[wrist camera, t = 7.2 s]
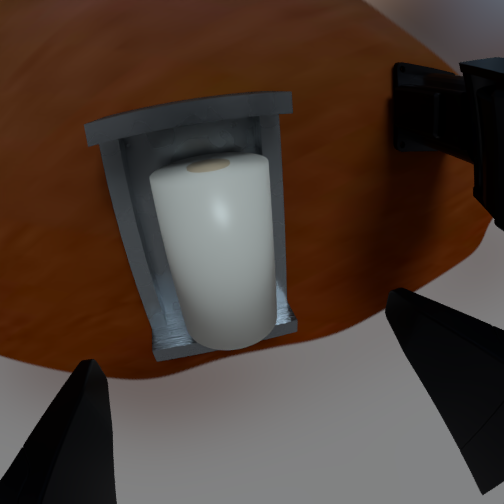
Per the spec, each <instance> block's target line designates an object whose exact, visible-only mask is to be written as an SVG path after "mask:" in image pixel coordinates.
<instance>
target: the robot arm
mask: <svg viewBox="0 0 504 504" xmlns="http://www.w3.org/2000/svg"><path fill="white" fill-rule="evenodd" d="M459 65H460V70H461V72H462V73H463V76H457V75H455V74H454V73H451V72H447V71H443V70H438V69H434V68H429V67H424V66H419V65H414V64H409V63H403V62H398V63H395V65H394V147H395V149H396V150H398V151H401V152H408V151H441V152H444V153H446V154H449V155H452V156H454V157H457V158H459V159H462V160H464V161H466V162H469V163H471V164H474V187H473V196H474V197H475V198H476V199H477V200H478V201H479V202H480V203H481V204H482V206H483V207H484V208H485V209H486V210H487V211H488V212H489V213H490V214H491V216H492V217H493V218H494V219H495V220H494V223H495V225H496V226H497V227H498V228H500V229H501V230H503V231H504V58H500V57H494V58H487V59H480V60H473V61H466V62H460V63H459ZM400 67H401V68H402V71H400ZM400 143H402V144H401V146H400ZM385 314H386V317H387V320H388V321H389V324H390V326H391V327H392V329H393V331H394V334H395V335H396V337H397V339H398V342H399V344H400V346H401V348H402V350H403V352H404V353H405V355H406V357H407V359H408V360H409V362H410V364H411V365H412V367H413V369H414V370H415V372H416V373H417V375H418V377H419V378H420V380H421V382H422V383H423V385H424V387H425V388H426V390H427V392H428V394H429V395H430V397H431V399H432V401H433V402H434V404H435V405H436V407H437V409H438V411H439V413H440V414H441V416H442V418H443V420H444V422H445V424H446V425H447V427H448V429H449V431H450V433H451V434H452V436H453V438H454V440H455V442H456V444H457V446H458V448H459V449H460V452H461V454H462V456H463V457H464V459H465V461H466V463H467V465H468V467H469V469H470V471H471V473H472V475H473V477H474V479H475V482H476V484H477V486H478V488H479V490H480V492H481V493H482V495H484V494H485V493H487V492H488V491H490V490H492V489H493V488H495V487H496V486H498V485H499V484H501V483H502V482H503V481H504V330H502V329H500V328H497V327H495V326H493V327H492V325H490V324H488V323H485V322H483V321H481V320H479V319H476V318H474V317H472V316H469V315H467V314H464V313H462V312H459V311H457V310H455V309H452V308H450V307H448V306H445V305H443V304H441V303H438V302H436V301H433V300H431V299H428V298H426V297H424V296H421V295H419V294H416V293H414V292H411V291H409V290H407V289H404V288H397V289H394V290H391V291H390V292H389V295H388V300H387V304H386V309H385ZM23 447H24V448H21V450H20V451H19V453H18V455H17V456H16V458H15V459H14V461H13V462H12V464H11V466H10V467H9V469H8V470H7V472H6V473H5V474H4V476H3V477H2V479H1V480H0V504H117V501H116V491H115V478H114V460H113V431H112V420H111V411H110V402H109V392H108V382H107V378H106V376H105V374H104V373H103V371H102V370H101V368H100V366H99V365H98V363H97V362H96V361H95V360H94V359H88V360H82V361H81V362H80V363H79V364H78V366H77V367H76V368H75V370H74V371H73V373H72V374H71V375H70V377H69V378H68V380H67V381H66V382H65V384H64V385H63V387H62V388H61V389H60V391H59V392H58V394H57V395H56V397H55V398H54V400H53V401H52V402H51V404H50V405H49V407H48V408H47V410H46V411H45V413H44V414H43V416H42V417H41V419H40V420H39V422H38V423H37V425H36V426H35V428H34V430H33V431H32V433H31V434H30V436H29V437H28V439H27V440H26V442H25V444H24V445H23Z"/></svg>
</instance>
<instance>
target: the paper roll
mask: <svg viewBox="0 0 504 504" xmlns="http://www.w3.org/2000/svg"><path fill="white" fill-rule="evenodd" d="M149 179H150V184H151V189H152V194H153V199H154V204H155V208H156V213H157V217H158V222H159V226H160V230H161V235H162V239H163V243H164V247H165V251H166V255H167V259H168V263H169V267H170V271H171V275H172V279H173V282H174V286H175V290H176V294H177V297H178V301H179V304H180V308H181V311H182V315H183V318H184V322H185V325H186V328H187V331H188V333H189V335H190V336H191V337H192V338H193V339H194V340H195V341H196V342H197V343H199V344H201V345H203V346H205V347H208V348H211V349H216V350H236V349H241V348H245V347H248V346H251V345H253V344H255V343H257V342H259V341H261V340H262V339H264V338H265V337H266V336H267V335H268V334H269V333H270V332H271V331H272V329H273V328H274V326H275V324H276V321H277V296H276V276H275V257H274V239H273V222H272V206H271V191H270V176H269V161H268V159H267V158H266V157H264V156H262V155H258V154H253V153H245V152H224V153H213V154H206V155H200V156H195V157H190V158H186V159H182V160H179V161H176V162H173V163H170V164H167V165H165V166H163V167H161V168H159V169H157V170H156V171H154V172H153V173H152V174H151V175H150V178H149Z"/></svg>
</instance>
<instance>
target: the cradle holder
mask: <svg viewBox="0 0 504 504" xmlns="http://www.w3.org/2000/svg"><path fill="white" fill-rule="evenodd" d="M287 113H293V109H292V93H291V92H285V91H258V92H246V93H235V94H226V95H217V96H209V97H202V98H195V99H188V100H182V101H176V102H170V103H165V104H159V105H154V106H149V107H144V108H140V109H135V110H131V111H126V112H122V113H118V114H114V115H110V116H106V117H103V118H100V119H97V120H95V121H92V122H90V123H87V124H84V126H85V132H86V137H87V143H88V147H89V146H93V145H97V144H99V146H100V151H101V156H102V161H103V165H104V170H105V174H106V179H107V183H108V187H109V192H110V196H111V200H112V204H113V208H114V211H115V215H116V219H117V223H118V226H119V230H120V233H121V237H122V240H123V244H124V247H125V251H126V254H127V257H128V260H129V264H130V267H131V270H132V273H133V276H134V279H135V282H136V285H137V288H138V291H139V294H140V297H141V300H142V302H143V305H144V308H145V311H146V314H147V316H148V319H149V322H150V324H151V327H152V351H153V354H154V356H155V358H156V360H157V361H163V360H169V359H175V358H180V357H186V356H191V355H196V354H201V353H206V352H211V351H216V349H211V348H208V347H205V346H203V345H201V344H199V343H197V342H196V341H195V340H194V339H193V338H192V337H191V336H190V335H189V333H188V331H187V328H186V325H185V322H184V318H183V315H182V311H181V308H180V304H179V301H178V297H177V294H176V290H175V286H174V282H173V279H172V275H171V271H170V267H169V263H168V259H167V255H166V251H165V247H164V243H163V239H162V235H161V230H160V226H159V222H158V217H157V213H156V208H155V204H154V199H153V194H152V189H151V184H150V179H149V178H150V175H151V174H152V173H153V172H154V171H156V170H157V169H159V168H161V167H163V166H165V165H167V164H170V163H173V162H176V161H179V160H182V159H186V158H190V157H195V156H200V155H206V154H213V153H224V152H245V153H253V154H258V155H262V156H264V157H266V158H267V159H268V161H269V176H270V191H271V206H272V222H273V239H274V257H275V276H276V296H277V321H276V324H275V326H274V328H273V329H272V331H271V332H270V333H269V334H268V335H267V336H266V337H265V338H264V339H262V340H265V339H269V338H273V337H277V336H281V335H285V334H289V333H293V332H297V319H296V317H295V315H294V313H293V311H292V309H291V308H290V306H289V304H288V302H287V287H286V251H285V223H284V199H283V178H282V160H281V142H280V126H279V114H287Z"/></svg>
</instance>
